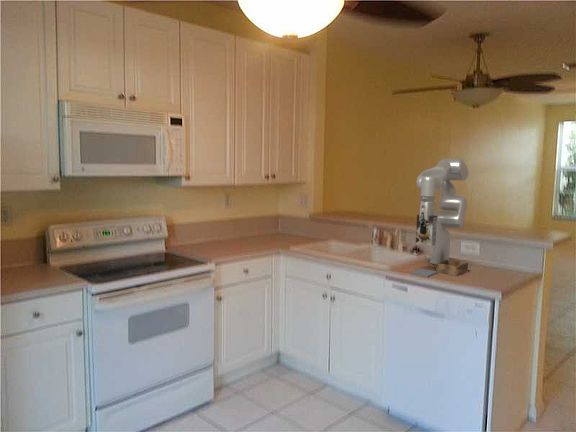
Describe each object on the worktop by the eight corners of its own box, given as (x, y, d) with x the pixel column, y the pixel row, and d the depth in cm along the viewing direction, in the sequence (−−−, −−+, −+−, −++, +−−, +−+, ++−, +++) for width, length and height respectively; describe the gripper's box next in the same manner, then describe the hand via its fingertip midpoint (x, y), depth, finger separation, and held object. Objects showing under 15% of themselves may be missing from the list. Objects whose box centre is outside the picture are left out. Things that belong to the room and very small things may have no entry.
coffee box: (415, 244, 240) (416, 214, 238) (419, 243, 245) (421, 213, 243) (431, 246, 234) (433, 216, 232) (436, 245, 239) (437, 215, 237)
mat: (410, 273, 240) (410, 272, 240) (420, 270, 249) (420, 268, 249) (427, 277, 233) (428, 275, 233) (437, 273, 242) (437, 271, 242)
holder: (435, 272, 245) (436, 263, 244) (446, 268, 255) (446, 259, 255) (457, 276, 237) (458, 266, 236) (467, 271, 247) (468, 262, 246)
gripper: (427, 200, 228) (425, 235, 230) (441, 199, 240) (439, 232, 242) (413, 199, 233) (411, 233, 235) (428, 198, 246) (426, 230, 247)
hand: (426, 232), depth 239 cm, fingers closed on coffee box, 6 cm apart
